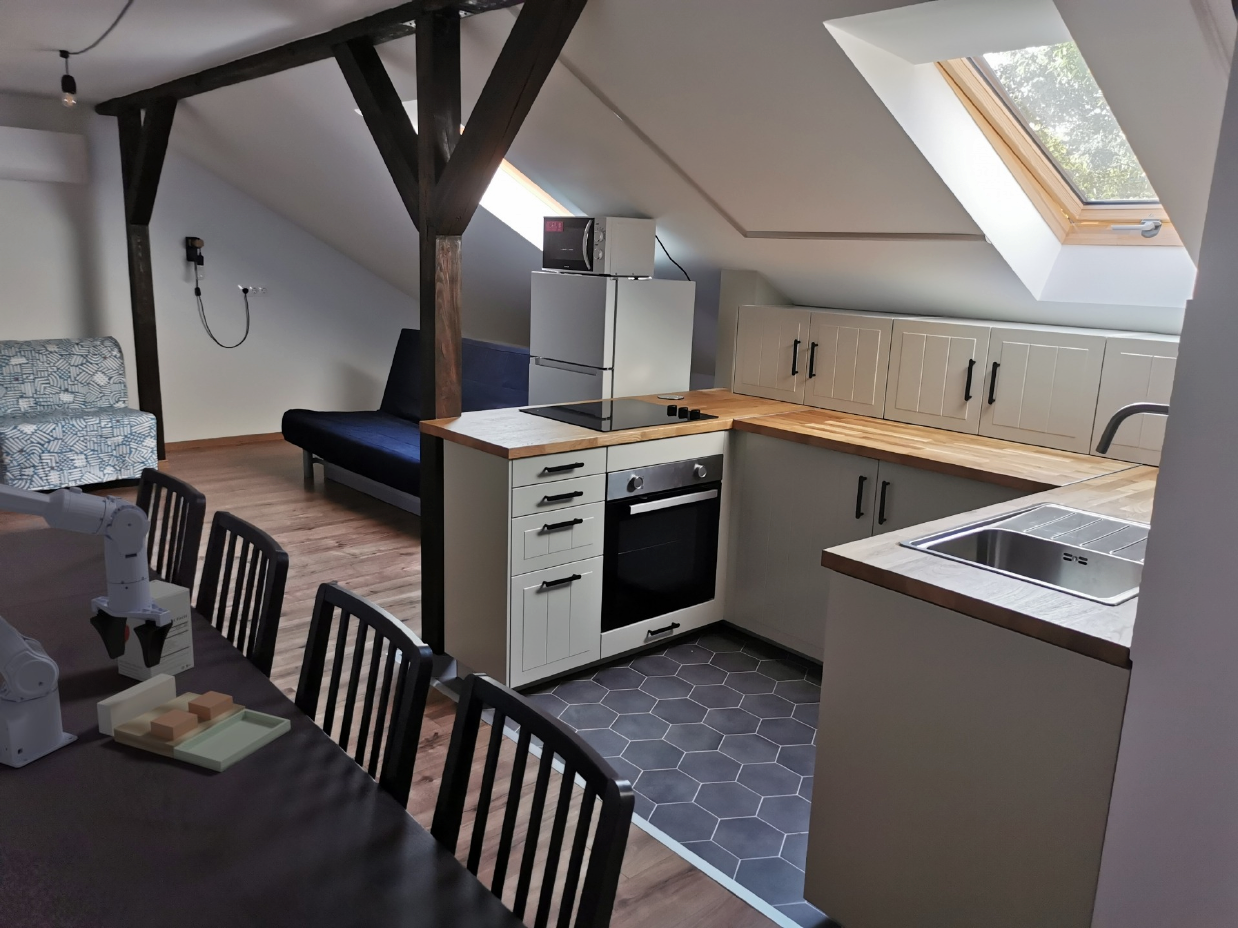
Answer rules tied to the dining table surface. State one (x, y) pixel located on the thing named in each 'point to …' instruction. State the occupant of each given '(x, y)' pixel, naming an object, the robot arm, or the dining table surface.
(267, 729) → the tray
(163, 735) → the tile
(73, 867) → the dining table surface
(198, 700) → the tile
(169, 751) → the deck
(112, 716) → the push bar
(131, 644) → the supplement box
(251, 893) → the dining table surface
